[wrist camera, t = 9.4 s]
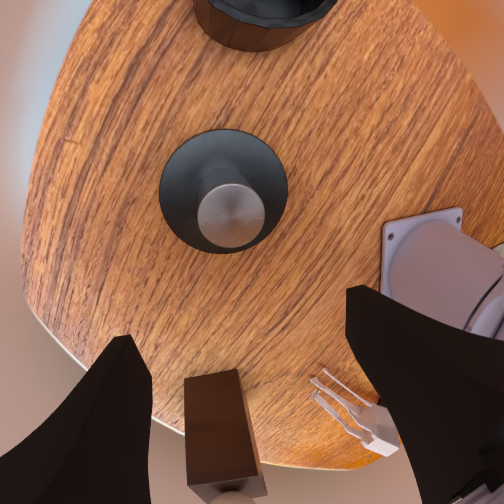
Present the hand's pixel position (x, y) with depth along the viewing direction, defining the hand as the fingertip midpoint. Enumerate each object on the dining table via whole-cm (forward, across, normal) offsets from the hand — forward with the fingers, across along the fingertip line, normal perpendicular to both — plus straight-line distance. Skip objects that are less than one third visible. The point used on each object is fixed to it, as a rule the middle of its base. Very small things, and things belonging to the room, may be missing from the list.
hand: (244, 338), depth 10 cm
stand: (+10, +3, +14) cm, 17 cm away
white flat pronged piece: (+9, -11, +20) cm, 25 cm away
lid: (+9, 0, -3) cm, 9 cm away
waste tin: (+10, -4, -13) cm, 17 cm away
